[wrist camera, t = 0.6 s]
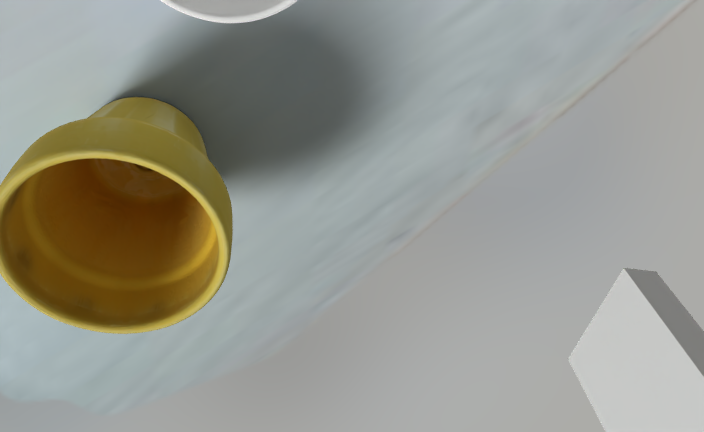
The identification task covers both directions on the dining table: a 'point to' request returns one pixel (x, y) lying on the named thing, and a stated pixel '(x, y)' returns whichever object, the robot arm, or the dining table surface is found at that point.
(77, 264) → the plant pot
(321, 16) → the dining table surface
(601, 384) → the robot arm
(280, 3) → the white cup
